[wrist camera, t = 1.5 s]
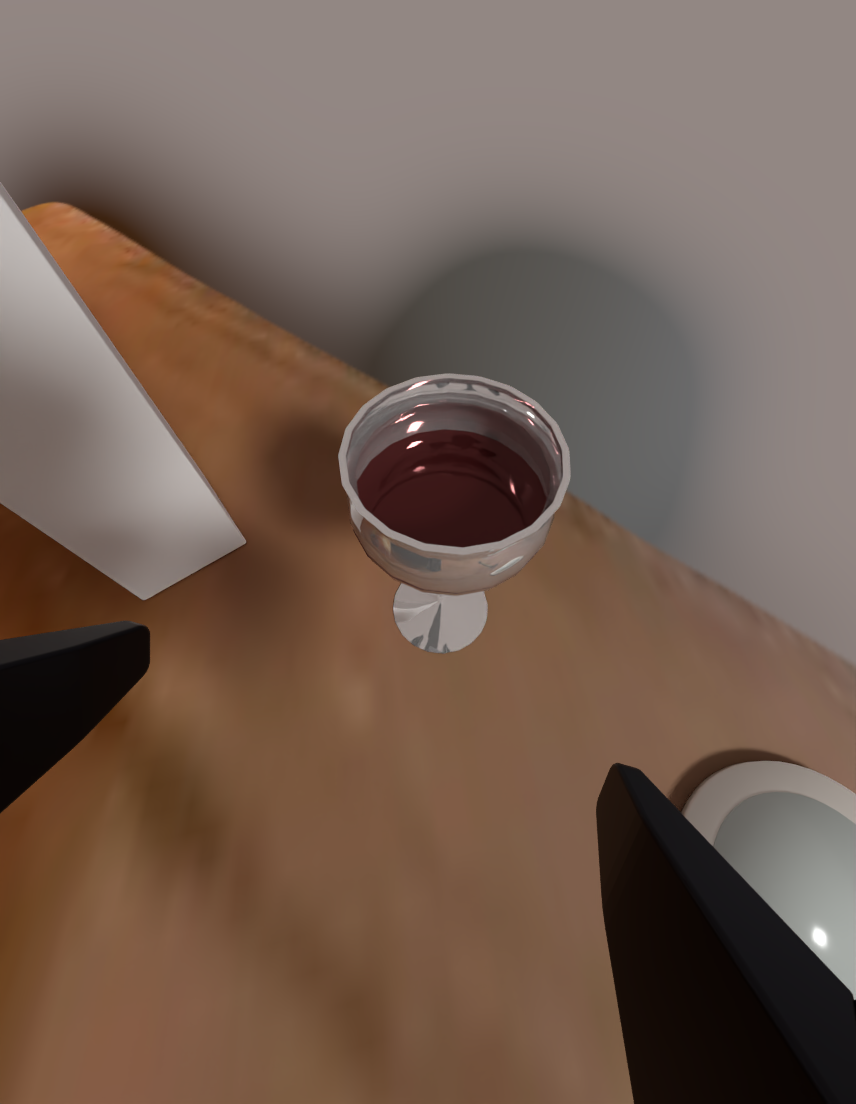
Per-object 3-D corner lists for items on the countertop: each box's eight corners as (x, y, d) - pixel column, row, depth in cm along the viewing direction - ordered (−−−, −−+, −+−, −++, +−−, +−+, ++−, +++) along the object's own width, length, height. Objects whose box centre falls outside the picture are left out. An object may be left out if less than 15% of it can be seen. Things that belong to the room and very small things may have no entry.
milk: (108, 525, 25) (-901, -319, 6) (206, 475, 27) (-335, -303, 8) (145, 604, 23) (-1290, -358, 4) (250, 544, 25) (-365, -325, 6)
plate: (806, 1157, 14) (823, 1174, 14) (622, 824, 19) (629, 826, 18) (1008, 988, 16) (1031, 996, 16) (799, 723, 21) (811, 721, 20)
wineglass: (399, 691, 21) (376, 592, 11) (360, 572, 24) (311, 401, 14) (527, 644, 22) (620, 511, 12) (474, 535, 25) (510, 352, 15)
